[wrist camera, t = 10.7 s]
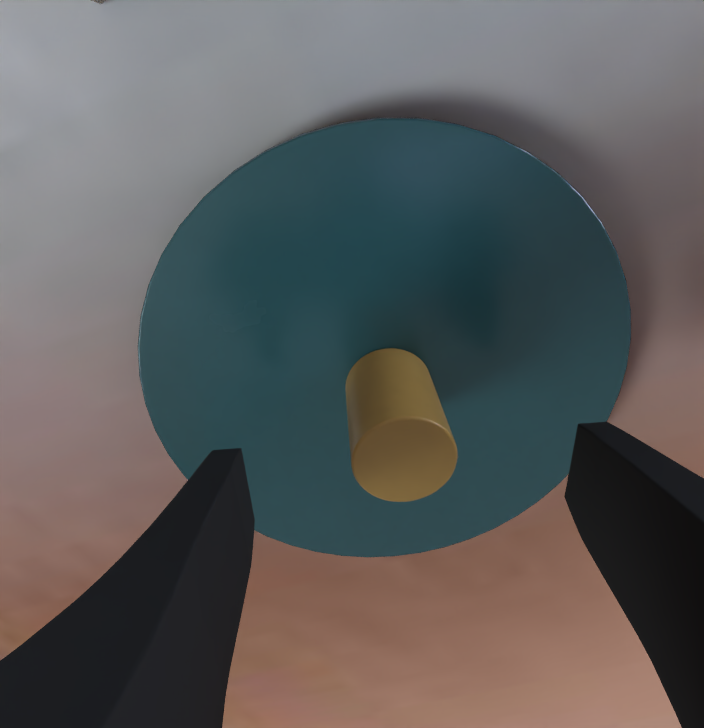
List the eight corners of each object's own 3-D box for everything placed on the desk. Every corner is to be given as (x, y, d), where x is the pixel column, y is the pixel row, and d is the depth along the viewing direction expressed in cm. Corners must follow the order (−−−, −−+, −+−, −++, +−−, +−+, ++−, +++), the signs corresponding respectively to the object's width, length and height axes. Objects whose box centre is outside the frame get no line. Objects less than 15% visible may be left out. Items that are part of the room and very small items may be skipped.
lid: (708, 221, 14) (861, 274, 10) (487, 564, 20) (528, 683, 16) (203, 22, 11) (139, -13, 7) (118, 485, 17) (57, 605, 13)
